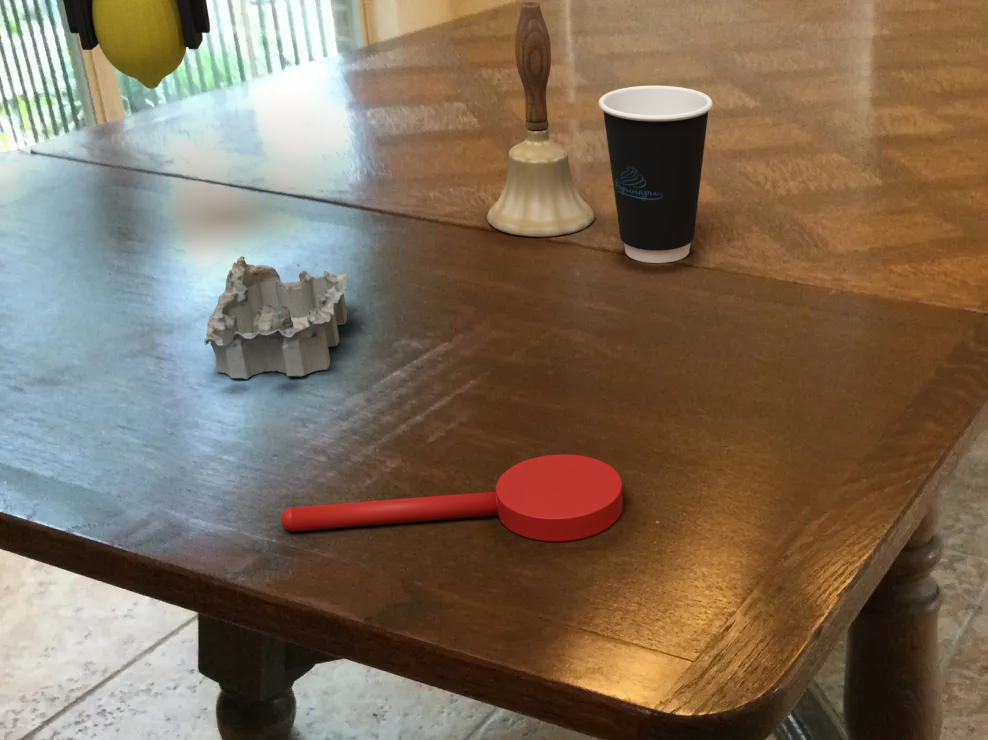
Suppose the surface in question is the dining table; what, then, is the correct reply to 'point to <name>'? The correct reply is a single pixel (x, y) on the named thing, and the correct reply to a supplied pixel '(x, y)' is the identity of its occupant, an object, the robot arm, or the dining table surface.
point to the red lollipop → (498, 502)
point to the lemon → (140, 37)
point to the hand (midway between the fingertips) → (143, 42)
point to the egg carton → (276, 321)
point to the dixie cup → (656, 166)
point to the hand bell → (537, 151)
